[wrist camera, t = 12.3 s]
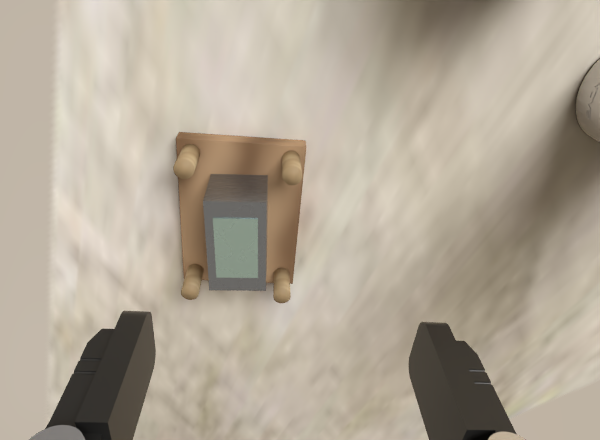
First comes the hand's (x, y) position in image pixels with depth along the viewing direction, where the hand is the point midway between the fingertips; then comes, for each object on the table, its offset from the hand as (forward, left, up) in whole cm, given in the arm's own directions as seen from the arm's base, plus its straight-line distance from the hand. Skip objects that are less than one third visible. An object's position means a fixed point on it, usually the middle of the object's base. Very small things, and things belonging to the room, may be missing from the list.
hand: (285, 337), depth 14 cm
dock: (+3, +12, -28) cm, 31 cm away
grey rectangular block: (+3, +12, -26) cm, 29 cm away
